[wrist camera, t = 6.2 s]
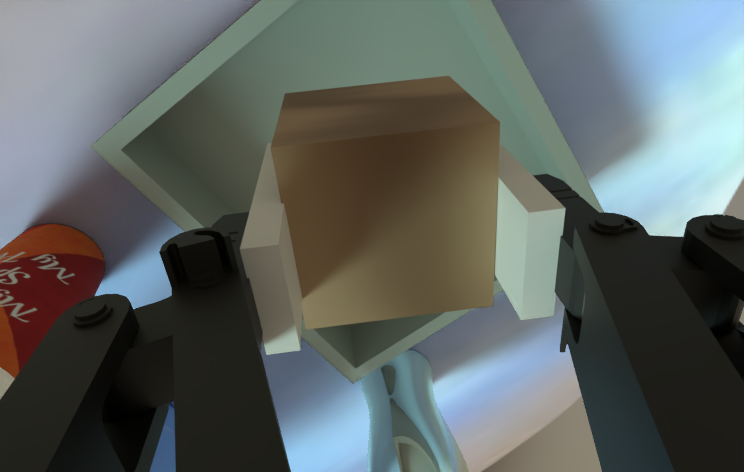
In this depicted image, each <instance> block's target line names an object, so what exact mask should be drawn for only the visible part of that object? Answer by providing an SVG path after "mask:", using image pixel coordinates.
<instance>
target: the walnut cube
mask: <svg viewBox="0 0 744 472" xmlns="http://www.w3.org/2000/svg"><path fill="white" fill-rule="evenodd" d="M499 143H500V121H499V120H498V119H496V118H495V117H494V116H493V115H492V114H491V113H490V112H489V111H488V110H486V109H485V108H484V107H483V106H482V105H481V104H480V103H479V102H478V101H476V100H475V99H474V98H473V97H472V96H471V95H470V94H469V93H468V92H466V91H465V90H464V89H463V88H462V87H461V86H460V85H459V84H458V83H456V82H455V81H454V80H453V79H452V78H451V77H450V76H441V77H432V78H423V79H413V80H404V81H395V82H386V83H376V84H367V85H358V86H349V87H339V88H330V89H321V90H312V91H302V92H293V93H285V95H284V99H283V102H282V106H281V110H280V114H279V118H278V121H277V125H276V129H275V133H274V137H273V140H272V144H271V153H272V158H273V163H274V169H275V174H276V179H277V184H278V189H279V194H280V200H281V203H284V206H285V211H286V216H287V221H288V227H289V232H290V237H291V242H292V247H293V252H294V257H295V263H296V268H297V273H298V278H299V283H300V288H301V294H302V299H303V301H302V313H303V319H304V324H305V329H306V330H307V329H315V328H323V327H331V326H339V325H347V324H355V323H363V322H371V321H379V320H387V319H395V318H402V317H410V316H418V315H426V314H434V313H442V312H450V311H458V310H466V309H474V308H482V307H490V306H493V293H494V268H495V243H496V218H497V193H498V168H499Z"/></svg>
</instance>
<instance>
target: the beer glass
mask: <svg viewBox="0 0 744 472" xmlns="http://www.w3.org/2000/svg"><path fill="white" fill-rule="evenodd" d="M360 386H361V389H362V392H363V395H364V397H365V400H366V403H367V406H368V410H369V420H370V424H369V440H368V454H367V472H469V470H468V467H467V464H466V462H465V460H464V457H463V455H462V453H461V451H460V449H459V447H458V444H457V442H456V441H455V439H454V437H453V435H452V433H451V431H450V429H449V427H448V425H447V424H446V422H445V420H444V418H443V416H442V414H441V412H440V410H439V408H438V406H437V403H436V401H435V397H434V393H433V380H432V370H431V366H430V364H429V362H428V361H427V359H426V358H425V357H424V356H423V355H421V354H420V353H418V352H416V351H413V350H410V349H408V350H406V351H405V352H403V353H401V354H400V355H398V356H397V357H395V358H393V359H392V360H390V361H388V362H387V363H385V364H384V365H382V366H380V367H379V368H377V369H376V370H374V371H372V372H371V373H369V374H368V375H366V376H364V377H363V378H361V379H360Z"/></svg>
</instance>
